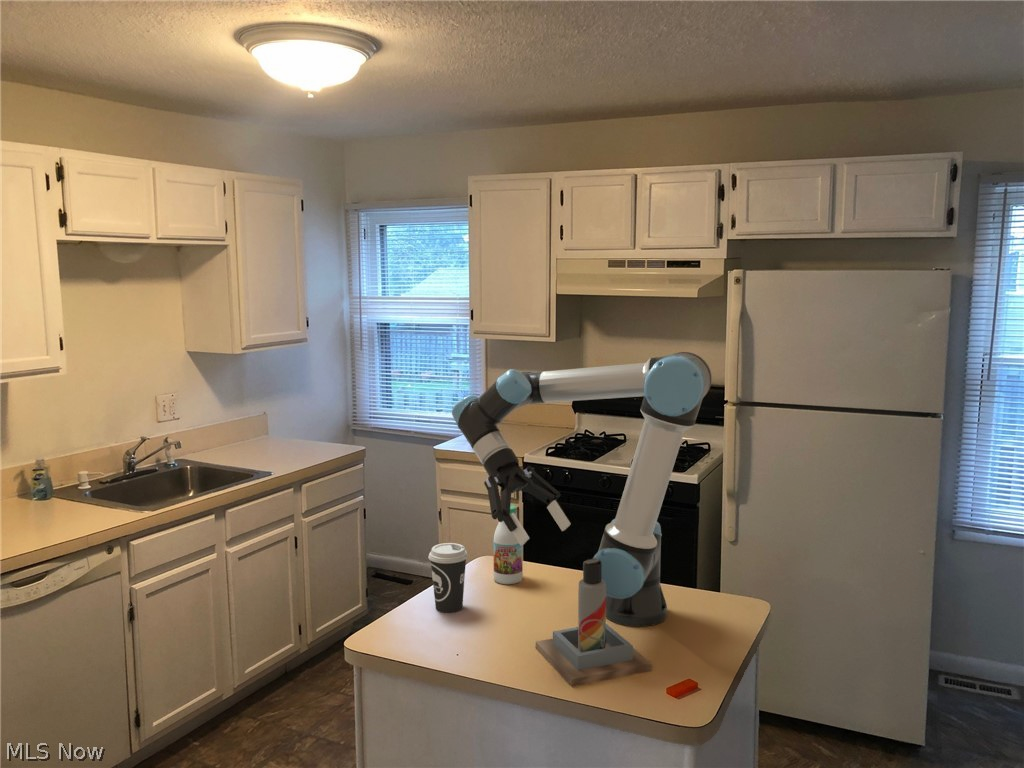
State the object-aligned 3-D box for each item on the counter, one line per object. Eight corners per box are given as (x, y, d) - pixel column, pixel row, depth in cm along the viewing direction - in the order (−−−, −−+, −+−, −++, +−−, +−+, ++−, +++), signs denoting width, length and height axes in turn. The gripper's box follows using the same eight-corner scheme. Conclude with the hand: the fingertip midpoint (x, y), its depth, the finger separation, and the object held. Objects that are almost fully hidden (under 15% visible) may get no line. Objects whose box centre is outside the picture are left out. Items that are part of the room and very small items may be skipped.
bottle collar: (604, 635, 176) (604, 622, 175) (632, 659, 164) (632, 645, 164) (552, 644, 171) (552, 631, 171) (578, 670, 160) (578, 656, 159)
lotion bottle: (597, 660, 164) (598, 566, 161) (573, 654, 167) (573, 561, 165) (610, 650, 169) (610, 558, 166) (586, 643, 172) (586, 553, 169)
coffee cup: (463, 617, 189) (462, 556, 188) (424, 614, 191) (423, 553, 190) (473, 601, 199) (472, 543, 197) (436, 598, 201) (434, 540, 199)
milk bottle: (492, 575, 217) (492, 503, 214) (521, 574, 217) (520, 502, 215) (494, 585, 209) (494, 511, 207) (524, 584, 210) (523, 510, 207)
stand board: (609, 634, 180) (609, 628, 179) (651, 670, 163) (651, 663, 163) (535, 648, 173) (535, 641, 173) (571, 686, 156) (571, 679, 156)
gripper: (525, 457, 193) (573, 531, 184) (447, 475, 175) (497, 558, 166) (541, 438, 188) (591, 513, 180) (464, 455, 170) (515, 538, 162)
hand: (546, 534), depth 173 cm, fingers open, 13 cm apart
